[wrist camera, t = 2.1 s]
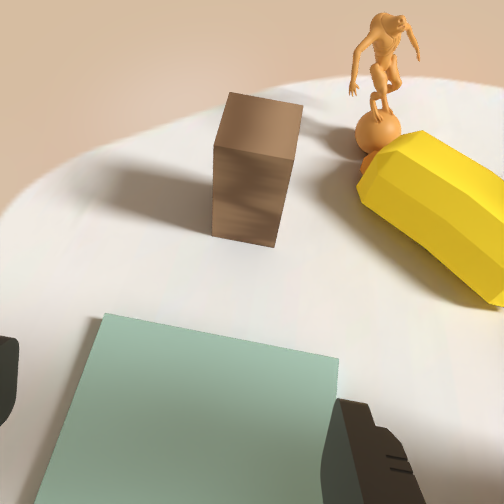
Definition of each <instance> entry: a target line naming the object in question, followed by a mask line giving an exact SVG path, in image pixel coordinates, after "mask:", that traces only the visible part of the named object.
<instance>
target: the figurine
mask: <svg viewBox="0 0 504 504" xmlns="http://www.w3.org/2000/svg"><path fill="white" fill-rule="evenodd" d="M404 30H406V32H407V35H408V37H409V40H410V42H411V44H412V45H413V47H414V48H415V50H416V53H417V59H418V61H420V52H419V47H418V43H417V40H416V38H415V37H414V35H413V32H412V28H411V26H410V25H409V24H408V23H406V19H405V16H403V15H399V16H393V15H390V14H387V13H379V14H377V15H376V16H375V17H374V18H373V19H372V21H371V24H370V32H369V33H368V35H367V37H366V38H365V39H364V40H363V41H362V42H361V43H360V44H359V45H358V46H357V47H356V49H355V51H354V53H353V64H352V72H351V81H350V85H349V95H350V92H351V93H352V97H353V91H354V92H355V95H356V96H357V94H356V87H357V88H358V89H359V86H358V85H357V84H356V83H355V80H356V77H357V73H358V63H359V59H360V54H361V52H363V51H364V50H365V49H366V48H367V47H368V46H370V45H371V44H373V48H374V52H375V59H376V63H375V64H373V65H372V66H371V67H370V73H371V76H372V80H373V83H374V87H375V89H376V90H377V92H372V93H371V95H370V106H371V111H370V112H368V113H366V114H365V115H363V116H362V117H361V119H360V120H359V121H358V123H357V126H356V129H355V138H356V142H357V144H358V146H359V147H360V148H361V149H362V150H363V151H364V152H366V153H368V154H370V153H371V152H373V151H380V150H381V149H382V148H384V147H385V146H386V145H388V144H389V143H391V142H392V141H393V140H395V139H396V138H398V137H399V136H400V135H401V125H400V122H399V120H398V118H397V117H396V116H395V115H394V114H393V111H392V110H391V109H390V108H389V106H388V102H387V97H386V94H387V93H391V92H393V91H395V90H398V89H399V88H400V86H401V85H402V81H401V79H400V76H399V72H398V68H397V56H396V55H395V54H393V51H395V49H396V48H397V46H398V45H399V43H400V40H401V32H403V31H404ZM384 71H385V72H384ZM388 80H389V81H391V83H392V85H390V84H387V81H388ZM380 98H381V100H382V109H377V106H376V102H375V100H378V99H380Z"/></svg>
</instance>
